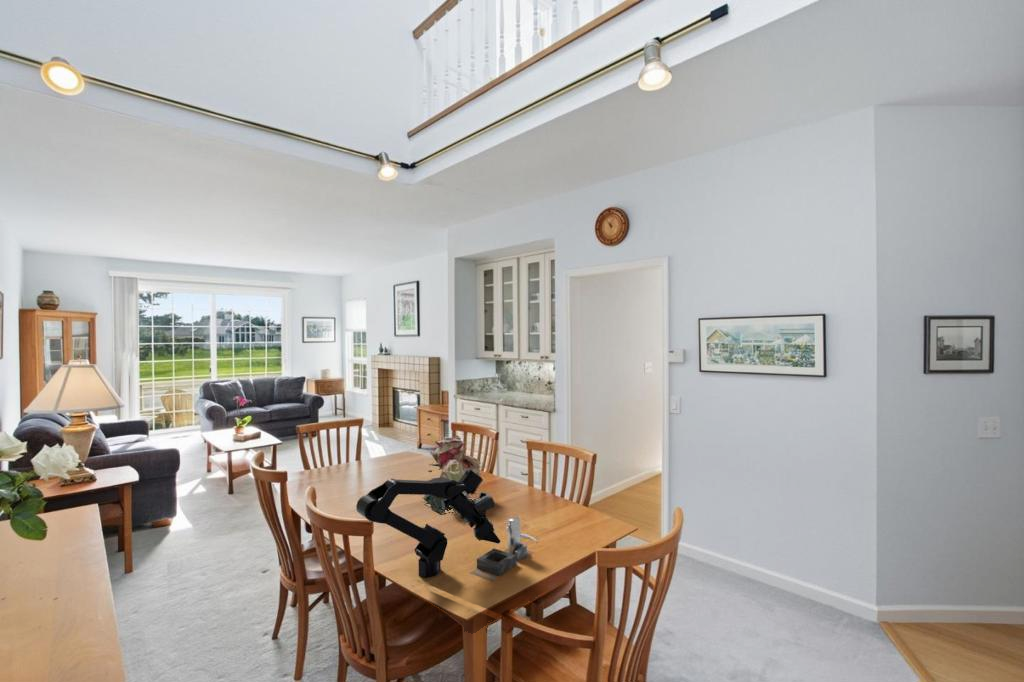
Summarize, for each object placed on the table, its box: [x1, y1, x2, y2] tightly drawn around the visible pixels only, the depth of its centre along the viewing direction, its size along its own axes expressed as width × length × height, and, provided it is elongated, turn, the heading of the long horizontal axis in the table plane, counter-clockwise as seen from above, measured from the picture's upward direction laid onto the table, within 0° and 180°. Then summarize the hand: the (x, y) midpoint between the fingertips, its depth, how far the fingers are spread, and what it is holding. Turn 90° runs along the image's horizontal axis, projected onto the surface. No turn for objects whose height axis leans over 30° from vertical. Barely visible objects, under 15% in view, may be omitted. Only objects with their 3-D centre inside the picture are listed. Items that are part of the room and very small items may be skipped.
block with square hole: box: [469, 541, 535, 582], centre depth 153 cm, size 23×9×4 cm, turn 145°
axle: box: [507, 516, 521, 555], centre depth 158 cm, size 4×4×12 cm
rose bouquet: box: [422, 434, 482, 515], centre depth 214 cm, size 26×29×30 cm
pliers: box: [505, 526, 538, 543], centre depth 176 cm, size 10×2×15 cm
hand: (496, 536), depth 157 cm, fingers open, 9 cm apart
